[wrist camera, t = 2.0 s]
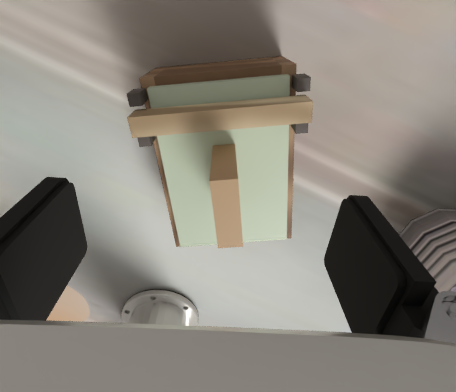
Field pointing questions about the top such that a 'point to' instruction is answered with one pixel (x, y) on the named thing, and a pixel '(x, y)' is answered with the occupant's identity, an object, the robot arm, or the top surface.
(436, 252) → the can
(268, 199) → the lid
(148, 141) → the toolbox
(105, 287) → the top surface
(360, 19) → the top surface
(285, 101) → the wooden bar
